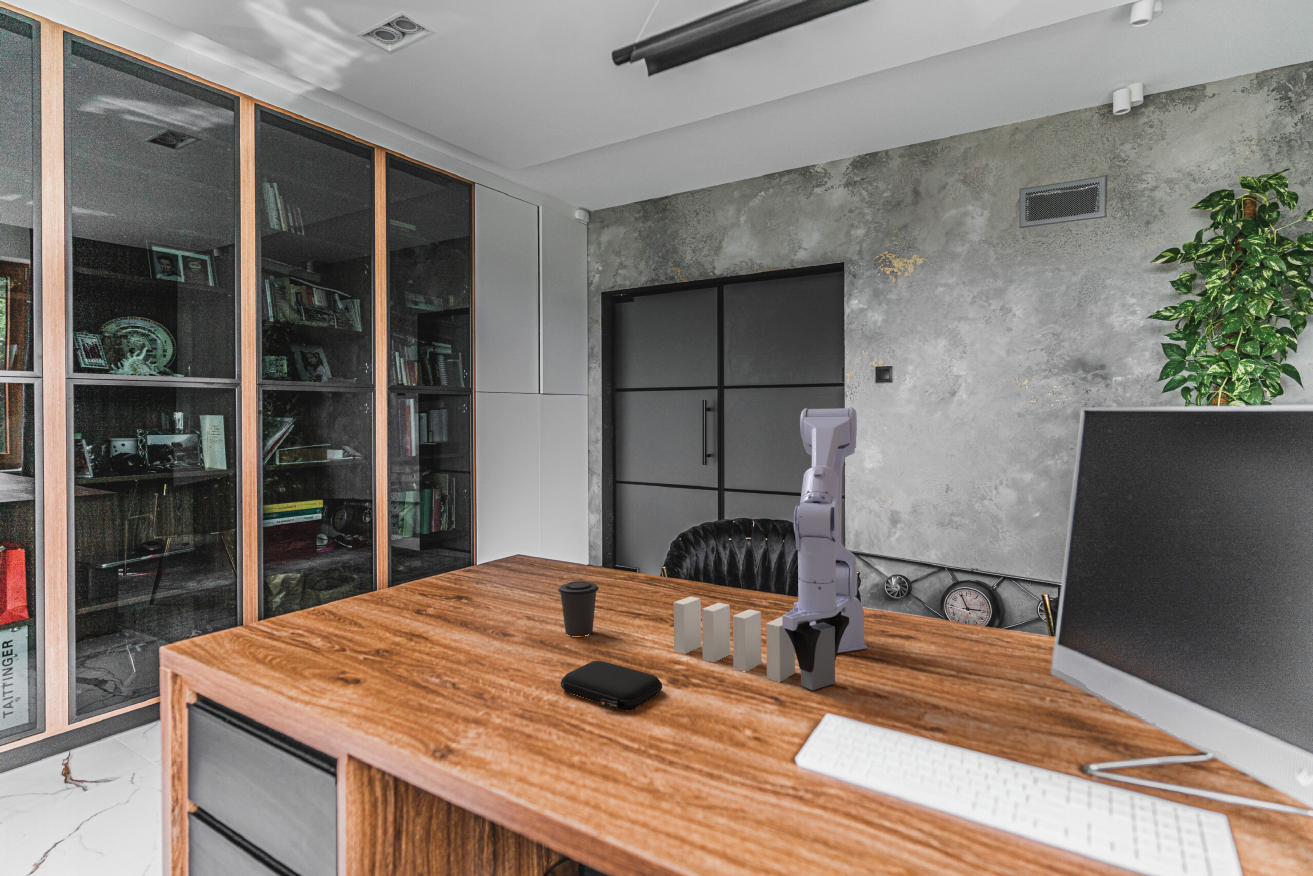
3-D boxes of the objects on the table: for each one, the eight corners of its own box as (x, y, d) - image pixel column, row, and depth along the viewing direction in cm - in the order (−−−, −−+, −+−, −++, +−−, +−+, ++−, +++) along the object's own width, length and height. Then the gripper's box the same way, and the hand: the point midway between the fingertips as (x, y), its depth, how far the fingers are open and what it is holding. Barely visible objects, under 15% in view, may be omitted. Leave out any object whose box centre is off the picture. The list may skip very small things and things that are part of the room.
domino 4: (795, 673, 104) (794, 619, 104) (779, 682, 100) (779, 626, 100) (782, 669, 106) (782, 616, 105) (766, 678, 102) (766, 623, 102)
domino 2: (730, 654, 113) (729, 605, 112) (713, 663, 109) (713, 611, 109) (719, 651, 114) (718, 602, 114) (702, 659, 110) (702, 608, 110)
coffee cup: (550, 637, 123) (550, 586, 123) (571, 624, 131) (570, 576, 130) (587, 642, 120) (586, 590, 120) (606, 629, 128) (605, 580, 127)
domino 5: (835, 683, 99) (834, 626, 99) (812, 690, 96) (811, 632, 96) (823, 678, 101) (823, 622, 101) (801, 685, 98) (800, 628, 98)
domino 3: (761, 663, 108) (760, 611, 108) (745, 672, 104) (744, 618, 104) (749, 660, 110) (749, 609, 110) (733, 668, 106) (732, 616, 106)
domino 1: (701, 646, 117) (700, 598, 117) (684, 654, 113) (683, 604, 113) (691, 643, 118) (690, 596, 118) (674, 651, 115) (673, 602, 114)
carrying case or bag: (549, 696, 97) (625, 721, 89) (549, 676, 97) (625, 699, 89) (594, 673, 106) (667, 694, 97) (594, 655, 106) (667, 674, 97)
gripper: (823, 567, 106) (824, 647, 106) (766, 582, 97) (767, 669, 97) (860, 575, 100) (861, 659, 101) (803, 591, 91) (804, 683, 92)
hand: (817, 665), depth 99 cm, fingers closed on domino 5, 5 cm apart
